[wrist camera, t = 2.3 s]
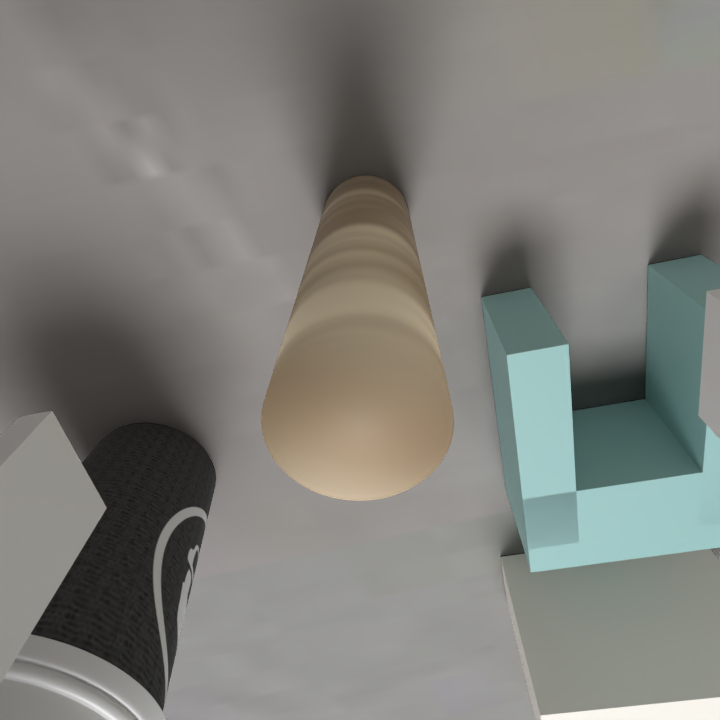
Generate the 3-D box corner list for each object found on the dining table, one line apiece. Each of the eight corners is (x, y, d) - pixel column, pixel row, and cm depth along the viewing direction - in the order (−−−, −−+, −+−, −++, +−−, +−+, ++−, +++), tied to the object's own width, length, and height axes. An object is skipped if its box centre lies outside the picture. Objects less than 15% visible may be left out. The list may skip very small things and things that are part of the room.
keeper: (481, 297, 25) (506, 355, 20) (701, 254, 24) (783, 305, 19) (505, 490, 31) (530, 572, 26) (687, 463, 30) (749, 543, 25)
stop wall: (500, 556, 33) (540, 715, 25) (697, 529, 32) (805, 688, 24) (507, 602, 35) (546, 762, 27) (693, 578, 34) (792, 740, 26)
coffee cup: (200, 378, 28) (43, 675, 14) (269, 518, 32) (197, 844, 19) (30, 421, 29) (-253, 727, 16) (118, 550, 33) (-46, 873, 20)
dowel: (313, 186, 23) (235, 362, 10) (400, 166, 23) (438, 324, 10) (334, 268, 25) (291, 512, 12) (415, 251, 24) (465, 485, 11)
